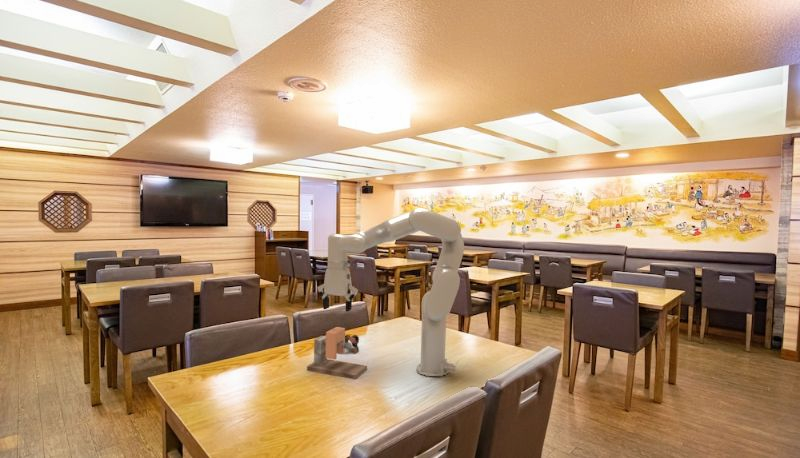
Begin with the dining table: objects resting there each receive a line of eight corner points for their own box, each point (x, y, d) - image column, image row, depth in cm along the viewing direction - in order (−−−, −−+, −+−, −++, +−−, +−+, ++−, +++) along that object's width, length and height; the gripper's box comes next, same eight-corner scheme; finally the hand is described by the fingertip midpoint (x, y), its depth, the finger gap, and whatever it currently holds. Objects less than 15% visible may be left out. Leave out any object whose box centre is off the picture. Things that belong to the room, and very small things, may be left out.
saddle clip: (344, 353, 152) (345, 328, 152) (334, 359, 145) (335, 333, 145) (336, 351, 154) (336, 326, 154) (325, 358, 147) (325, 332, 146)
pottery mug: (353, 357, 165) (343, 340, 165) (338, 362, 170) (329, 346, 170) (367, 343, 175) (358, 327, 175) (353, 348, 180) (344, 333, 180)
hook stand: (367, 369, 150) (367, 340, 150) (355, 379, 141) (356, 348, 141) (320, 361, 158) (321, 333, 157) (306, 370, 148) (307, 340, 148)
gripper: (361, 265, 149) (361, 309, 150) (323, 263, 155) (322, 305, 156) (353, 268, 142) (352, 313, 143) (312, 265, 148) (312, 309, 149)
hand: (337, 309), depth 149 cm, fingers open, 9 cm apart
